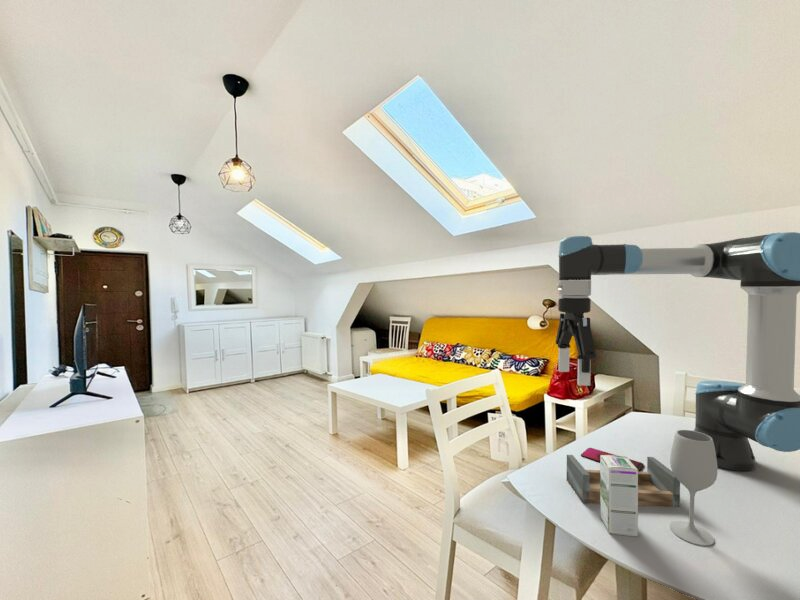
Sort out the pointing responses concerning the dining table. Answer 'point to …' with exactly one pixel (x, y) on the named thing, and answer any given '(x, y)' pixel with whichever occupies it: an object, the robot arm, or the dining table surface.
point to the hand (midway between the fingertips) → (573, 378)
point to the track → (652, 485)
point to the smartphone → (595, 454)
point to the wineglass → (693, 478)
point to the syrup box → (619, 495)
